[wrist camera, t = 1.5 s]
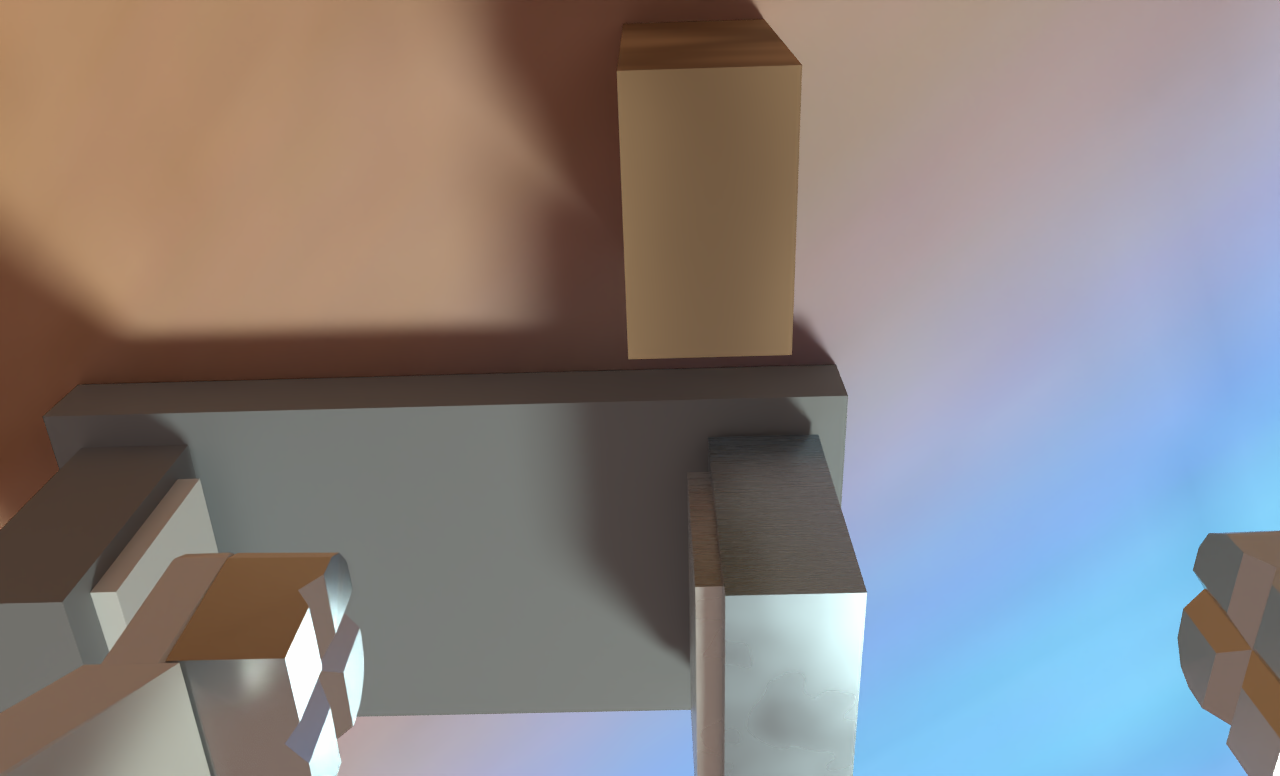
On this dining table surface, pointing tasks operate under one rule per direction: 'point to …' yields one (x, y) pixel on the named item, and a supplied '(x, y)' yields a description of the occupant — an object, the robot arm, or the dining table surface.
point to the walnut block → (708, 187)
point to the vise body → (407, 520)
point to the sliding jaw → (772, 612)
